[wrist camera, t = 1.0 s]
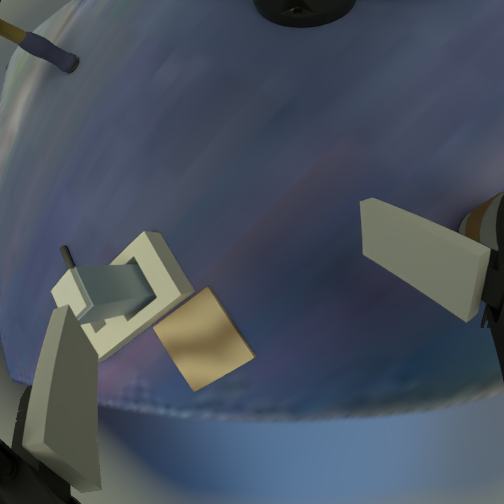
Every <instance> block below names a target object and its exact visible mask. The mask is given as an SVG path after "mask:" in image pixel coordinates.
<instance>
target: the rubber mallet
mask: <svg viewBox="0 0 504 504" xmlns="http://www.w3.org/2000/svg"><path fill="white" fill-rule="evenodd" d="M0 2H1V0H0ZM0 35H1V36H3V37H5V38H7V39H9V40H11V41H13V42H15V43H17V44H18V45H19V46H20V47H21V48H22V49H24V50H25V51H27V52H28V53H30V54H32V55H34V56H36V57H39V58H42V59H45V60H47V61H49V62H51V63H53V64H54V65H56V66H58V67H59V68H60V69H61V70H62V71H65V72H71V71H73V70H74V69H75V67H76V66H77V64H78V60H77V57H76V55H74V54H72V53H68V52H65V51H64V50H62V49H60V48H58V47H57V46H55V45H54V44H52V43H51V42H50V41H49V40H47V39H45V38H44V37H41V36H39V35H37V34H34V33H32V32H25V31H23V30H21V29H19V28H17V27H15V26H13V25H11V24H9V23H7V22H5V21H3V20H1V19H0Z"/></svg>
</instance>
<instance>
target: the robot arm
mask: <svg viewBox="0 0 504 504" xmlns="http://www.w3.org/2000/svg"><path fill="white" fill-rule="evenodd" d="M355 1H356V0H253V2H254V3H255V5H256V7H257V9H258V11H259V12H260V13H261V14H262V15H263V16H264V17H265V18H267V19H268V20H270V21H272V22H275V23H277V24H281V25H285V26H292V27H311V26H317V25H322V24H326V23H329V22H332V21H334V20H336V19H338V18H340V17H342V16H344V15H345V14H346V13H347V12H349V11H350V10H351V8H352V7H353V5H354V4H355ZM360 211H361V225H362V242H363V255H365V256H366V257H368V258H369V259H371V260H373V261H374V262H376V263H377V264H379V265H381V266H382V267H384V268H385V269H387V270H388V271H390V272H392V273H393V274H395V275H396V276H398V277H399V278H401V279H402V280H404V281H405V282H407V283H409V284H410V285H412V286H413V287H415V288H416V289H418V290H419V291H421V292H422V293H424V294H425V295H427V296H428V297H430V298H431V299H433V300H434V301H436V302H437V303H439V304H440V305H441V306H443V307H444V308H446V309H447V310H449V311H450V312H452V313H453V314H455V315H456V316H457V317H459V318H460V319H462V320H463V321H465V322H466V323H467V322H468V321H469V320H471V319H472V318H473V317H474V316H475V315H477V314H478V310H479V306H480V302H481V300H482V301H484V302H485V303H486V307H485V311H484V315H483V318H482V322H481V328H484V324H485V321H487V320H488V325H487V328H490V329H491V333H492V336H493V340H494V343H495V347H496V351H497V355H498V359H499V363H500V367H501V371H502V376H503V381H504V246H502V247H500V248H499V249H498V251H496V250H494V249H492V248H490V247H488V246H486V245H484V244H482V243H480V242H478V241H476V240H474V239H470V238H469V237H467V236H465V235H462V234H461V233H458V232H456V231H454V230H452V229H448V228H445V227H443V226H441V225H439V224H436V223H434V222H432V221H429V220H427V219H425V218H422V217H420V216H418V215H415V214H413V213H410V212H408V211H405V210H403V209H400V208H398V207H395V206H393V205H390V204H388V203H385V202H383V201H380V200H378V199H375V198H369V199H366V200H363V201H360ZM98 358H99V355H98V353H97V352H96V350H95V348H94V347H93V345H92V344H91V342H90V340H89V339H88V337H87V335H86V334H85V332H84V330H83V328H82V327H81V325H80V323H79V322H78V320H77V318H76V316H75V314H74V313H73V311H72V309H71V307H70V305H69V304H68V305H65V306H62V307H59V308H57V309H54V310H53V313H52V316H51V319H50V322H49V325H48V329H47V332H46V335H45V339H44V342H43V346H42V349H41V353H40V357H39V361H38V365H37V369H36V373H35V377H34V381H33V385H32V386H28V387H27V388H26V390H25V392H24V393H23V395H22V397H21V399H20V404H19V409H18V411H19V412H18V413H17V418H16V420H17V422H16V423H15V429H14V435H13V441H12V447H11V448H10V447H9V446H7V445H6V444H5V443H4V442H3V441H2V440H1V439H0V504H81V503H80V502H79V501H78V500H77V499H76V498H74V497H73V496H71V493H70V485H71V486H72V487H74V488H75V489H77V490H78V491H80V492H81V493H85V492H91V491H98V490H102V487H101V477H100V464H99V448H98V421H97V388H98Z"/></svg>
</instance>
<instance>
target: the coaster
mask: <svg viewBox="0 0 504 504" xmlns="http://www.w3.org/2000/svg"><path fill="white" fill-rule="evenodd" d="M153 329H154V330H155V332H156V334H157V335H158V337H159V338H160V340H161V342H162V343H163V345H164V347H165V348H166V350H167V351H168V353H169V355H170V356H171V358H172V359H173V361H174V362H175V364H176V365H177V367H178V369H179V370H180V372H181V373H182V375H183V376H184V378H185V379H186V381H187V382H188V384H189V385H190V387H191V388H192V389H193V391H194V392H195V391H197V390H198V389H200V388H202V387H204V386H206V385H208V384H210V383H211V382H213V381H215V380H217V379H219V378H220V377H222V376H224V375H226V374H227V373H229V372H231V371H233V370H234V369H236V368H238V367H240V366H241V365H243V364H245V363H247V362H248V361H250V360H252V359H253V358H255V357H256V355H255V354H254V352H253V351H252V349H251V348H250V347H249V345H248V344H247V342H246V341H245V339H244V338H243V336H242V335H241V333H240V332H239V330H238V329H237V327H236V326H235V324H234V323H233V321H232V320H231V318H230V317H229V315H228V314H227V312H226V311H225V309H224V308H223V306H222V304H221V303H220V301H219V300H218V298H217V297H216V295H215V294H214V292H213V291H212V289H211V287H210V286H208V287H206V288H205V289H204V290H202V291H201V292H200V293H198V294H197V295H196V296H194V297H193V298H192V299H190V300H189V301H188V302H186V303H185V304H184V305H182V306H181V307H180V308H178V309H177V310H176V311H174V312H173V313H172V314H170V315H169V316H168V317H166V318H165V319H164V320H162V321H161V322H160V323H158V324H157V325H156V326H154V327H153Z"/></svg>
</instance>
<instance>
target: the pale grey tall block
mask: <svg viewBox="0 0 504 504" xmlns="http://www.w3.org/2000/svg"><path fill="white" fill-rule="evenodd" d="M51 292H52V294H53V297H54V299H55V301H56V304H57V306H58V308H59V307H62V306H65V305H68V304H69V305H70V307H71V309H72V311H73V313H74V314H75V316H76V318H77V320H78V322H79V323H80V325H83V324H87V323H92V322H96V321H100V320H104V319H109V318H113V317H117V316H121V315H126V314H130V313H134V312H138V311H141V310H143V309H144V308H145V307H146V306H147V305H149V304H150V303H151V302H152V301H154V300H155V299H156V298H157V296H156V294H155V293H154V291H153V289H152V287H151V286H150V284H149V282H148V280H147V279H146V277H145V275H144V273H143V271H142V270H141V268H140V266H139V264H127V265H101V266H75V267H74V269H69V270H68V271H67V272H66V274H65V275H64V276H63V277H62V278H61V280H60V281H59V282H58V283H57V284H56V286H55V287H54V288H53V289H52V291H51Z"/></svg>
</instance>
